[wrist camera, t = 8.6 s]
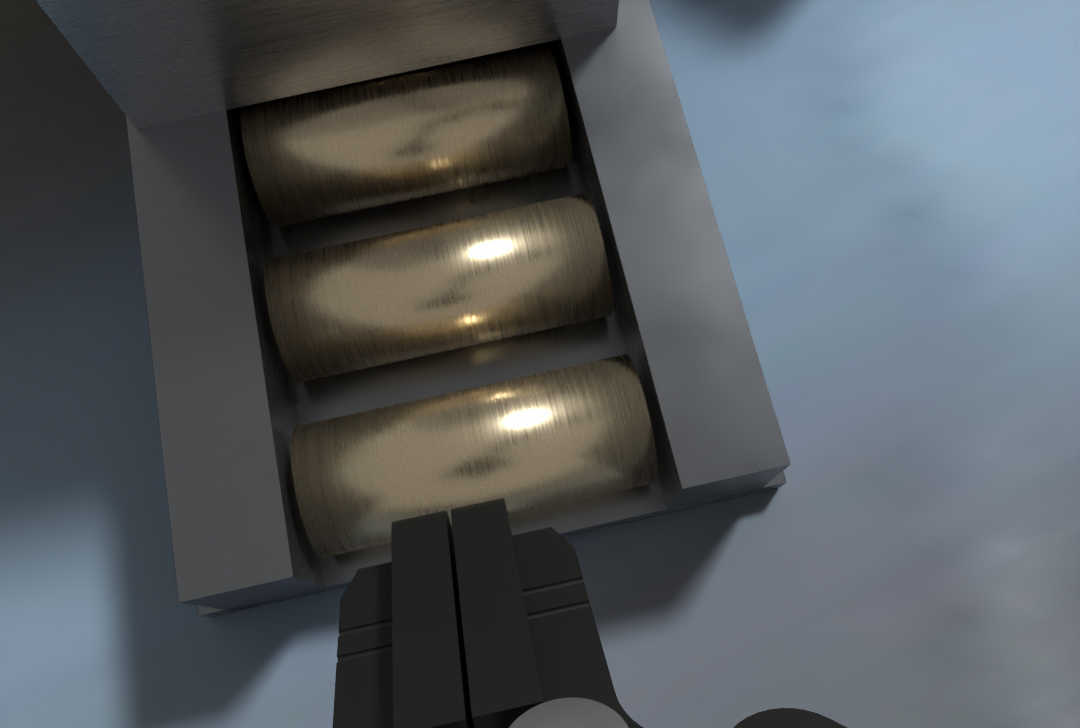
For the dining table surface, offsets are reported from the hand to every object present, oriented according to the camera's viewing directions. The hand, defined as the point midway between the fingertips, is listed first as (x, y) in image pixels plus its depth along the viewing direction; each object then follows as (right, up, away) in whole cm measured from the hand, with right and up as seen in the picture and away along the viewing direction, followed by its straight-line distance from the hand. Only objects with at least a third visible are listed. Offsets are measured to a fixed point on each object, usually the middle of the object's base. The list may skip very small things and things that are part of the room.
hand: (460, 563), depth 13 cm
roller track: (-2, +9, +10) cm, 14 cm away
